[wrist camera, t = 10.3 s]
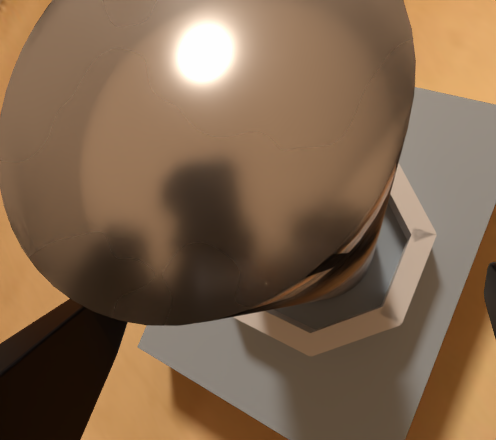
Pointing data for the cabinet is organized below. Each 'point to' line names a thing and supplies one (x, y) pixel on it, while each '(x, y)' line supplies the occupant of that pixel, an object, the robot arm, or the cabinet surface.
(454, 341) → the cabinet surface
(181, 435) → the cabinet surface
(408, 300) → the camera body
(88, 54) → the lens
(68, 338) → the robot arm
